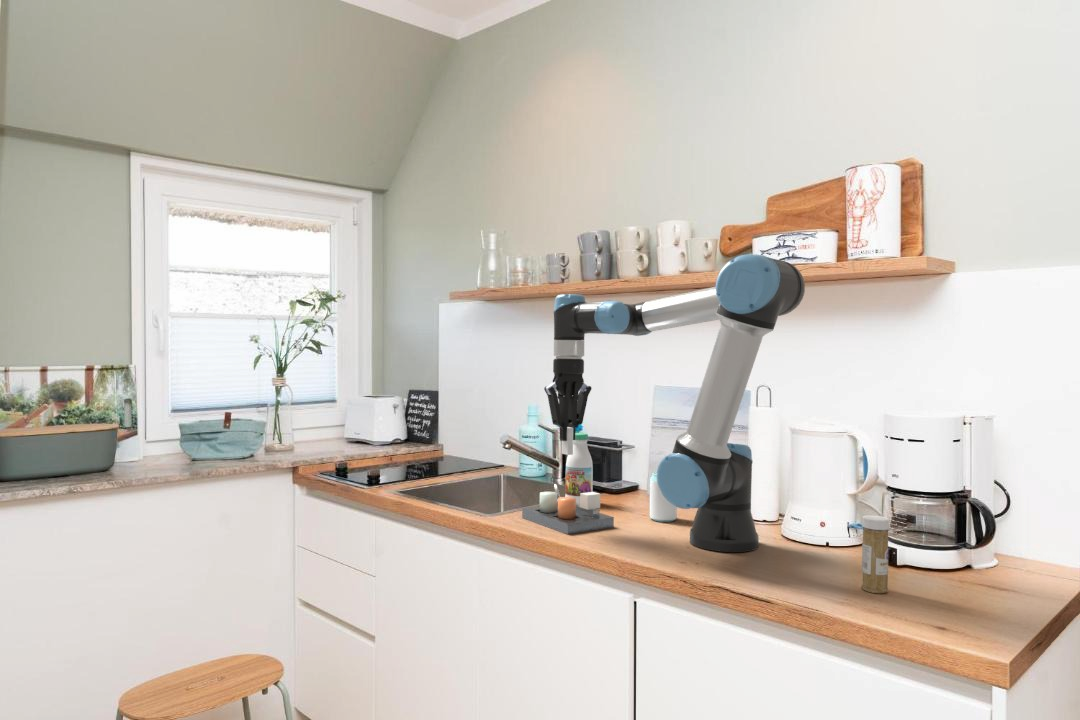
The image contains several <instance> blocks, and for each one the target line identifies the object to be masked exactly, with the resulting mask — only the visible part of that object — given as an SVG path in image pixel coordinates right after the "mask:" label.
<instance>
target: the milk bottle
mask: <svg viewBox="0 0 1080 720" xmlns="http://www.w3.org/2000/svg"><path fill="white" fill-rule="evenodd" d="M588 438H589V434H588V433H586V432H585V433H584V432H575V440H573V455H567V458H566V461H565V462H566V463H565V483H564V484H565V488H564V489H565V490H564V491H565V492H564V493H565V496H564V497H573V498H576V503H577V504H580V493H587V492H594V491H593V490H594V489H593V487H594V485H593V483H594V482H593V481H594V480H593V479H594V477H593V474H594V471H593V469H594V467H593V466H594V465H593V459H592V456H591V453H590V451H589V448H588Z"/></svg>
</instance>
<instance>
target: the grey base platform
mask: <svg viewBox="0 0 1080 720" xmlns="http://www.w3.org/2000/svg"><path fill="white" fill-rule="evenodd" d="M553 488H554V492H556V493H557V512H553V513H544V512H540V505H539V506H537V505H536V506H531V507H530V506H528V507H522V509H521V510H522V511H521V513H522V514H521V518H522V519H524V520H527V521H530V522H533V523H535V524H537V525H541V526H543V527H545V528H546V527H547V528H549V529H552V530H555V531H557V532H559V533H562V534H565V535H572V534H573V535H575V534H578V533H579V534H580V533H586V532H592V531H599V530H604V529H611V528H614V527H615V526H614V525H615V524H614V519H615V517H614V516H611V515H607V514H605V513H602V512H600V509H598V508H596V509H588V510H587V509H584V508H581V507H580V504H577V503H576V517H575V518H573V519H561V518H558V498H560V497H561V495H560V494H561V493H560V490H559V485H558V484H556V483H555V484H553Z"/></svg>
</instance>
